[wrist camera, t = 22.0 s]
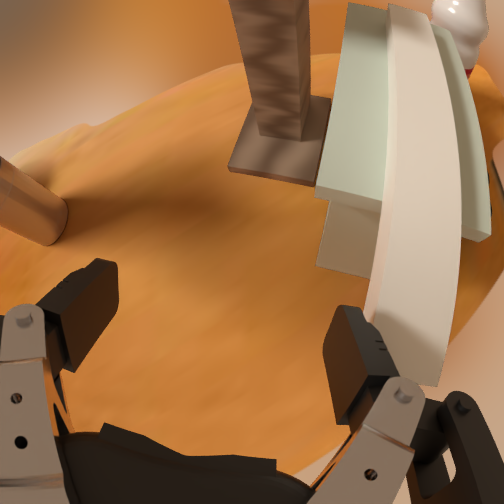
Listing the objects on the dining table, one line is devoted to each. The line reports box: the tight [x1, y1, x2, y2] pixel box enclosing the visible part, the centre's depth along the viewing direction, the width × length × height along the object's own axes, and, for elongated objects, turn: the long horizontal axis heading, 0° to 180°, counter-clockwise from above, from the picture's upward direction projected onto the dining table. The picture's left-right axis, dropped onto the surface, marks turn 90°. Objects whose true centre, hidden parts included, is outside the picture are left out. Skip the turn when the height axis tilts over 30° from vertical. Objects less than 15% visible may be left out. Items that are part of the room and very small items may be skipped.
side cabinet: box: [315, 3, 491, 279], centre depth 27 cm, size 11×23×22 cm, turn 164°
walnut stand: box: [228, 0, 331, 187], centre depth 27 cm, size 12×16×32 cm
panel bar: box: [363, 4, 461, 387], centre depth 14 cm, size 4×28×2 cm, turn 164°
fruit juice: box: [430, 0, 489, 79], centre depth 27 cm, size 9×9×28 cm
